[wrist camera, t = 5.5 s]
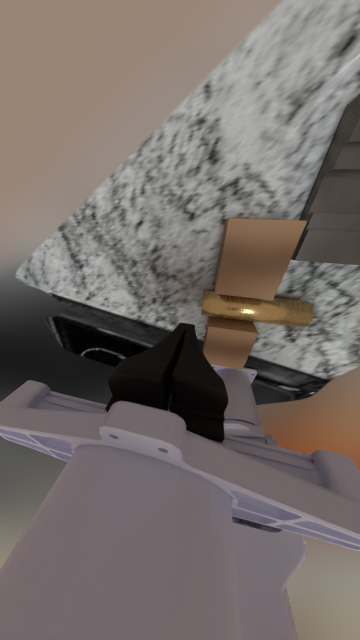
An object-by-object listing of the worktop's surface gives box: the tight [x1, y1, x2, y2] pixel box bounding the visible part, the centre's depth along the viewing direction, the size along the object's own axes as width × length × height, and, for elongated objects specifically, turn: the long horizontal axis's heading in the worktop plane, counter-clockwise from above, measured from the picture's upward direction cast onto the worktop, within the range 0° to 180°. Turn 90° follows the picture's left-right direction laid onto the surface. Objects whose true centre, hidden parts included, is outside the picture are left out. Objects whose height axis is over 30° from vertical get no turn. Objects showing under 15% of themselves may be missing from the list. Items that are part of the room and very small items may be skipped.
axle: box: [201, 291, 314, 328], centre depth 18 cm, size 12×3×3 cm, turn 88°
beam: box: [203, 218, 307, 370], centre depth 18 cm, size 18×6×3 cm, turn 178°
